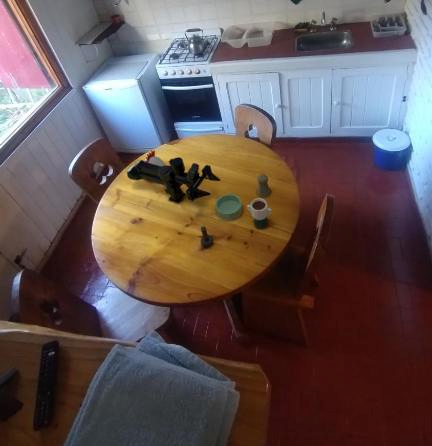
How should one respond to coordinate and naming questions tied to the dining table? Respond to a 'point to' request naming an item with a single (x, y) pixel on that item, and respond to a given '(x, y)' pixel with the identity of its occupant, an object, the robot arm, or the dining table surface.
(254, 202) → the character mug
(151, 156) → the kitchen timer
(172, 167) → the robot arm
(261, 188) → the pepper mill
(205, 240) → the grey peg stand
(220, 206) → the bowl
